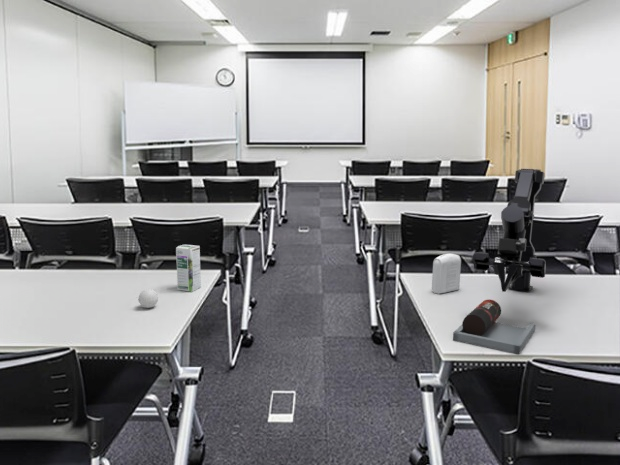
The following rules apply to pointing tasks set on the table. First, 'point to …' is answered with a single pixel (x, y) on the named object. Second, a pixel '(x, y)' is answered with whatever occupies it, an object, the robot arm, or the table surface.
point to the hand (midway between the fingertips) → (503, 291)
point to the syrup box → (188, 267)
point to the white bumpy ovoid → (148, 298)
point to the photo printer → (446, 273)
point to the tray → (498, 337)
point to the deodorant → (481, 317)
